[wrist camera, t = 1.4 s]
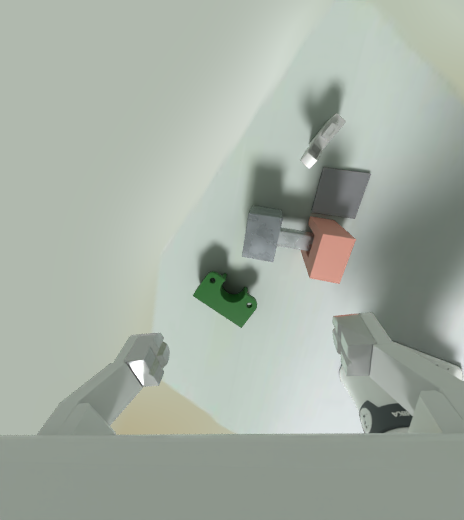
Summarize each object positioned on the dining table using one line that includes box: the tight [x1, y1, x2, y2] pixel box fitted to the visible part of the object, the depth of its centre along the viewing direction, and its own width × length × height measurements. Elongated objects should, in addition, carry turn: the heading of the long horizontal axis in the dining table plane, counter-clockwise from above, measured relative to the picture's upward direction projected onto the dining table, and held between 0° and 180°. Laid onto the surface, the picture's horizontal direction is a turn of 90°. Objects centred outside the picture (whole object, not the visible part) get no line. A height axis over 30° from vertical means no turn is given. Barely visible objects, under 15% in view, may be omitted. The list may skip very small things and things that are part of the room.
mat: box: [311, 167, 371, 219], centre depth 36 cm, size 7×7×1 cm
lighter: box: [300, 113, 345, 169], centre depth 30 cm, size 7×2×8 cm, turn 143°
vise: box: [242, 206, 315, 262], centre depth 36 cm, size 16×7×7 cm, turn 83°
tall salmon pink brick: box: [301, 216, 356, 284], centre depth 34 cm, size 4×6×11 cm, turn 173°
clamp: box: [193, 271, 257, 328], centre depth 44 cm, size 12×6×9 cm, turn 50°
